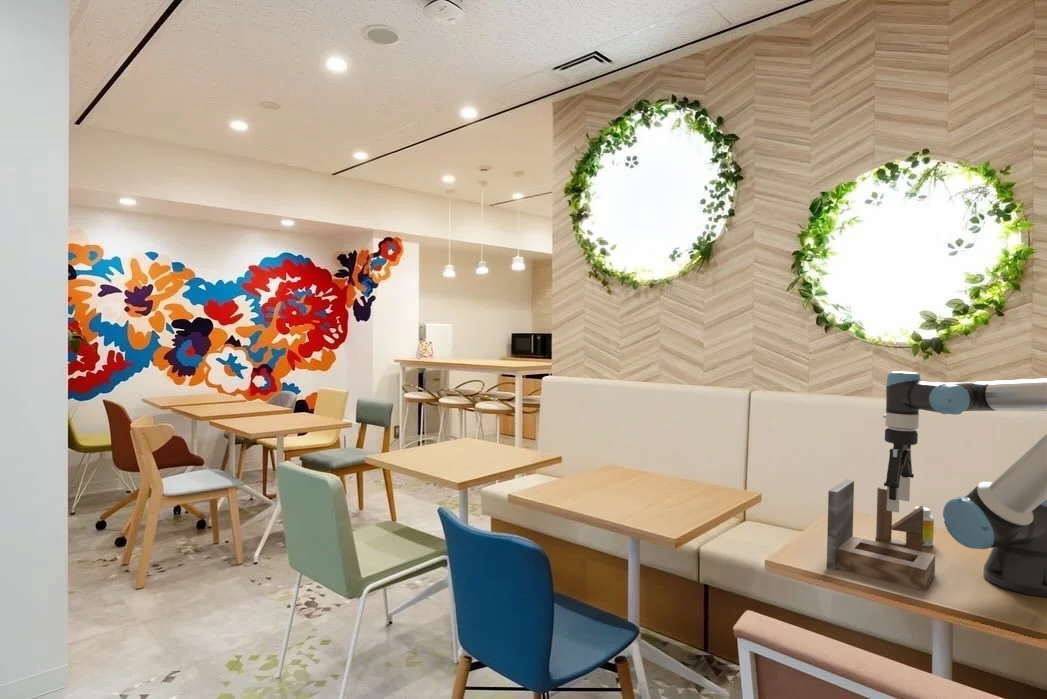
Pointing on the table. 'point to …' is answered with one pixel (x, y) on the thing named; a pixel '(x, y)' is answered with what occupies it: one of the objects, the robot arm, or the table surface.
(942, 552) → the table surface
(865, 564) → the post block
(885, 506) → the wooden block
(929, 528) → the supplement bottle
